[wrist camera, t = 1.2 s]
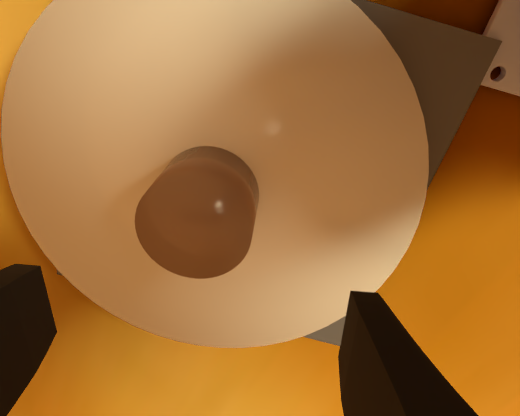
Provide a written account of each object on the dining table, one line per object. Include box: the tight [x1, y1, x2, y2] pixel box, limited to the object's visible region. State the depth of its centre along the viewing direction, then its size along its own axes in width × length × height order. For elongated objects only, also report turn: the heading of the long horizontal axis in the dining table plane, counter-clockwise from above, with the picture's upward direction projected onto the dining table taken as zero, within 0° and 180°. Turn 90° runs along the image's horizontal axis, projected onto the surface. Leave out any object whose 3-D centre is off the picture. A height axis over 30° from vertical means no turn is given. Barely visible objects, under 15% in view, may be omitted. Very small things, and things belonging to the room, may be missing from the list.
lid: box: [1, 0, 429, 348], centre depth 15 cm, size 17×17×4 cm
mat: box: [57, 0, 502, 346], centre depth 17 cm, size 15×15×1 cm
